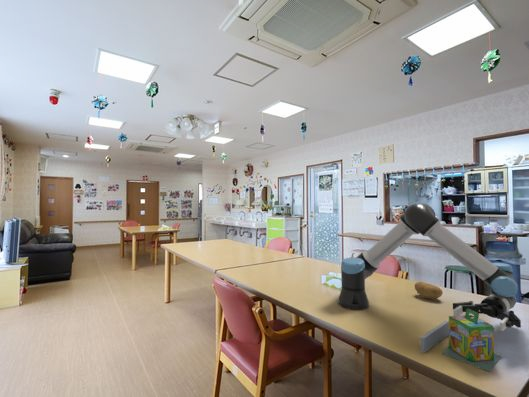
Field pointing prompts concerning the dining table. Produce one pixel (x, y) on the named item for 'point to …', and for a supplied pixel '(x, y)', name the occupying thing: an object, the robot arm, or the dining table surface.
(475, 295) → the dining table surface
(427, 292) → the potato
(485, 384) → the dining table surface
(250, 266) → the dining table surface
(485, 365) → the mat
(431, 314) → the dining table surface
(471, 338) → the chalk box
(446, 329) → the low wall
